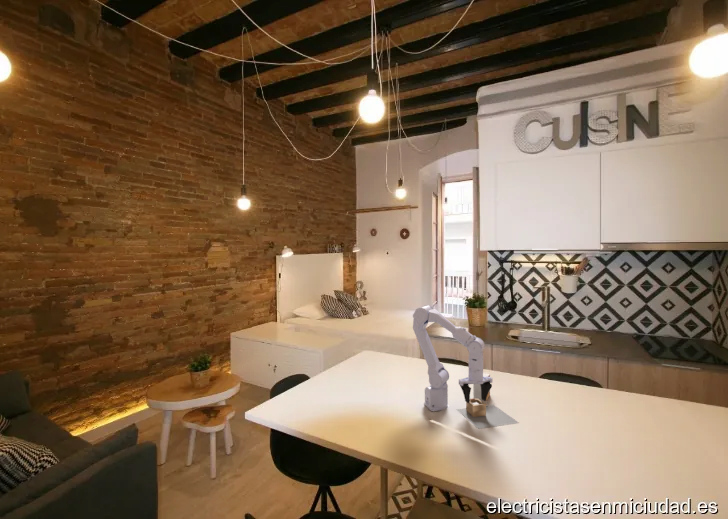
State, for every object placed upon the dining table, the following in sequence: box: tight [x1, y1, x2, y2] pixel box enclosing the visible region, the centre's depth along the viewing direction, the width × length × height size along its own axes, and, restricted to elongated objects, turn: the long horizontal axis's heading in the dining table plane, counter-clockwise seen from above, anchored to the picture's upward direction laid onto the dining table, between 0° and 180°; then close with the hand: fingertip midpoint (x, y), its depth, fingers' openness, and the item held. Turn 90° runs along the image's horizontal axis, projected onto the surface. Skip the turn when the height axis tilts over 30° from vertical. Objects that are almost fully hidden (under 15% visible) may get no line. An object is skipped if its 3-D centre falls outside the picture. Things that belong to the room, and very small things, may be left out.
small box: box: [472, 372, 491, 402], centre depth 152 cm, size 8×6×10 cm
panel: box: [456, 402, 520, 430], centre depth 134 cm, size 18×16×5 cm
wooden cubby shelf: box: [465, 397, 487, 417], centre depth 136 cm, size 6×6×5 cm
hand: (475, 400), depth 136 cm, fingers open, 7 cm apart
